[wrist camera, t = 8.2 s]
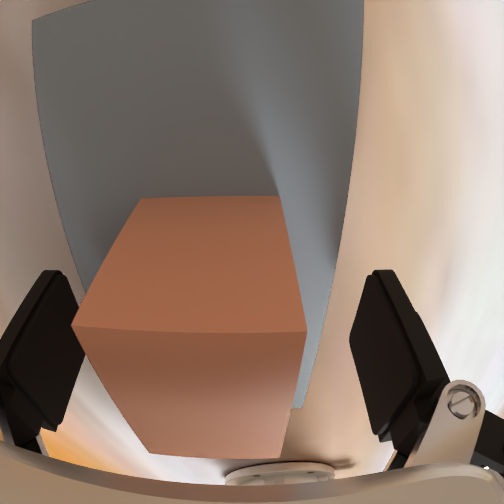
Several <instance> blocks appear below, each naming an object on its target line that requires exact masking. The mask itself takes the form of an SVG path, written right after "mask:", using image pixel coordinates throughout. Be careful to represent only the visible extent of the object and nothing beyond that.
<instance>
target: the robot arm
mask: <svg viewBox="0 0 504 504" xmlns="http://www.w3.org/2000/svg"><path fill="white" fill-rule="evenodd" d="M78 309H79V307H78V304H77V302H76V299H75V297H74V295H73V292H72V290H71V287H70V285H69V282H68V279H67V277H66V276H65V275H63V274H62V272H61V271H59V270H45V271H43V272H42V273H41V275H40V276H39V278H38V279H37V280H36V282H35V283H34V285H33V286H32V288H31V290H30V291H29V293H28V294H27V296H26V297H25V299H24V300H23V302H22V304H21V305H20V307H19V308H18V310H17V312H16V313H15V315H14V317H13V318H12V320H11V322H10V323H9V325H8V327H7V328H6V330H5V332H4V334H3V335H2V337H1V339H0V504H504V419H502V418H500V417H498V416H496V415H495V414H493V413H491V412H489V411H487V410H485V405H486V404H485V399H484V396H483V394H482V393H481V391H480V390H479V389H478V388H477V387H476V386H475V385H474V384H472V383H471V382H468V381H465V380H455V381H452V382H450V380H449V377H448V375H447V373H446V370H445V368H444V366H443V364H442V361H441V359H440V357H439V355H438V353H437V351H436V348H435V346H434V344H433V342H432V340H431V338H430V336H429V334H428V332H427V330H426V328H425V326H424V324H423V322H422V320H421V318H420V316H419V314H418V313H417V312H416V311H415V310H414V308H413V306H412V304H411V302H410V300H409V298H408V296H407V295H406V293H405V291H404V289H403V287H402V285H401V283H400V281H399V280H398V278H397V276H396V274H395V272H394V271H393V270H374V271H373V273H372V275H368V276H367V278H366V282H365V285H364V289H363V292H362V296H361V299H360V303H359V306H358V310H357V313H356V316H355V320H354V323H353V326H352V329H351V332H350V337H349V343H350V348H351V351H352V355H353V359H354V362H355V366H356V370H357V373H358V377H359V381H360V384H361V388H362V392H363V396H364V400H365V404H366V408H367V412H368V416H369V420H370V424H371V428H372V432H373V434H374V435H378V437H379V441H380V443H381V442H386V441H391V440H392V442H393V446H394V449H395V451H394V453H393V454H392V456H391V458H390V460H389V462H388V463H387V465H386V467H385V469H384V470H383V472H379V473H374V474H368V475H362V476H356V477H349V478H342V479H334V478H335V473H334V469H333V468H332V467H331V466H329V465H326V464H321V463H313V462H288V463H274V464H265V465H257V466H252V467H246V468H243V469H239V470H236V471H233V472H231V473H229V474H228V475H227V476H226V477H225V485H206V484H191V483H179V482H169V481H161V480H153V479H146V478H139V477H133V476H127V475H121V474H116V473H111V472H106V471H101V470H97V469H92V468H88V467H84V466H80V465H76V464H72V463H68V462H65V461H61V460H58V459H54V458H51V457H49V455H48V452H47V450H46V447H45V445H44V442H43V440H42V437H41V435H40V429H41V427H42V428H44V429H47V430H51V431H54V432H56V430H57V427H58V425H59V424H61V423H62V421H63V418H64V415H65V412H66V409H67V406H68V402H69V399H70V396H71V393H72V391H73V388H74V385H75V382H76V379H77V376H78V373H79V371H80V368H81V365H82V362H83V360H84V357H85V352H84V350H83V348H82V346H81V344H80V342H79V340H78V338H77V336H76V334H75V332H74V330H73V328H72V326H71V324H72V322H73V320H74V318H75V316H76V313H77V311H78ZM333 479H334V480H333Z"/></svg>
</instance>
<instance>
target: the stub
mask: <svg viewBox="0 0 504 504" xmlns="http://www.w3.org/2000/svg"><path fill="white" fill-rule="evenodd" d="M363 21H364V0H92V1H89V2H85V3H82V4H78V5H75V6H72V7H69V8H66V9H62V10H60V11H57V12H54V13H51V14H48V15H45V16H43V17H40V18H37V19H35V20H32V50H33V66H34V78H35V88H36V97H37V105H38V113H39V120H40V126H41V132H42V138H43V144H44V149H45V154H46V159H47V164H48V169H49V173H50V178H51V182H52V186H53V190H54V194H55V198H56V202H57V206H58V210H59V213H60V217H61V220H62V224H63V227H64V231H65V234H66V237H67V241H68V244H69V247H70V250H71V253H72V256H73V259H74V262H75V265H76V268H77V271H78V274H79V276H80V279H81V282H82V285H83V287H84V290H85V293H86V295H85V297H84V299H83V301H82V303H81V305H80V307H79V309H78V311H77V313H76V316H75V318H74V320H73V322H72V324H71V326H72V328H73V330H74V332H75V334H76V336H77V338H78V340H79V342H80V344H81V346H82V348H83V350H84V352H85V354H86V355H87V357H88V359H89V361H90V363H91V364H92V366H93V368H94V370H95V372H96V373H97V375H98V377H99V378H100V380H101V382H102V383H103V385H104V387H105V388H106V390H107V392H108V393H109V395H110V397H111V398H112V400H113V401H114V403H115V404H116V406H117V408H118V409H119V411H120V412H121V414H122V415H123V417H124V418H125V420H126V421H127V423H128V424H129V426H130V427H131V428H132V430H133V431H134V433H135V434H136V435H137V437H138V438H139V440H140V441H141V442H142V444H143V445H144V446H145V448H146V449H147V451H148V452H149V453H152V454H161V455H171V456H182V457H196V458H218V459H264V458H280V454H281V450H282V446H283V442H284V438H285V434H286V430H287V426H288V422H289V417H290V413H291V409H292V408H302V407H303V404H304V400H305V397H306V393H307V389H308V386H309V382H310V378H311V374H312V370H313V366H314V362H315V358H316V354H317V350H318V346H319V342H320V338H321V334H322V329H323V325H324V321H325V316H326V312H327V307H328V302H329V298H330V293H331V288H332V283H333V278H334V273H335V268H336V262H337V257H338V252H339V246H340V240H341V235H342V229H343V223H344V217H345V210H346V204H347V197H348V190H349V183H350V176H351V169H352V161H353V153H354V144H355V135H356V126H357V116H358V105H359V94H360V81H361V66H362V47H363Z"/></svg>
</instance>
